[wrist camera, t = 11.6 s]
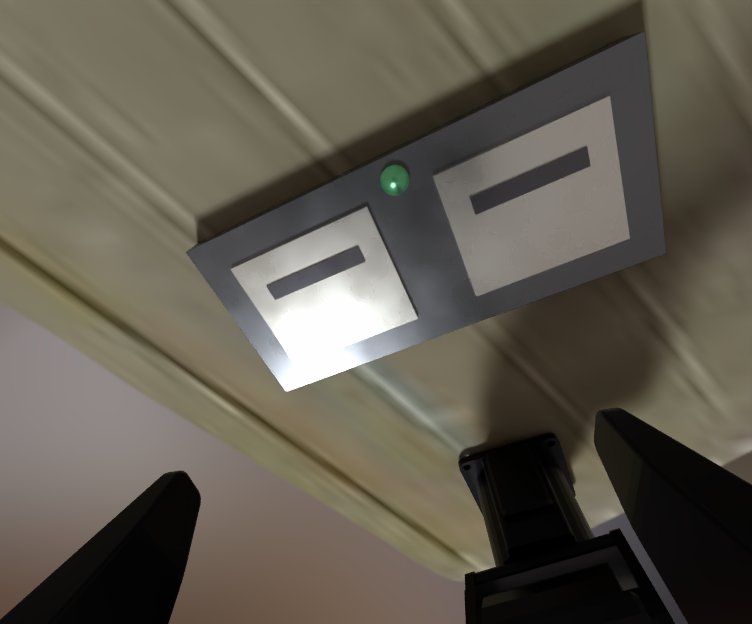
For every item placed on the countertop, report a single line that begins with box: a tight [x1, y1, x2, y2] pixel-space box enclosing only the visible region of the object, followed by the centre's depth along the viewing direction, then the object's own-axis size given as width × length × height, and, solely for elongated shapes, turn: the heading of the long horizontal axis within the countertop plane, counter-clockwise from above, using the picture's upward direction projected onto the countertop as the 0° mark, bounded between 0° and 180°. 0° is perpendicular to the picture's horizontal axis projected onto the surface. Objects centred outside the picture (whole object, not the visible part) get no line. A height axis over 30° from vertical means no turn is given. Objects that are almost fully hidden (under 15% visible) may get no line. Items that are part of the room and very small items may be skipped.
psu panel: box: [186, 31, 666, 392], centre depth 18 cm, size 9×20×2 cm, turn 114°
